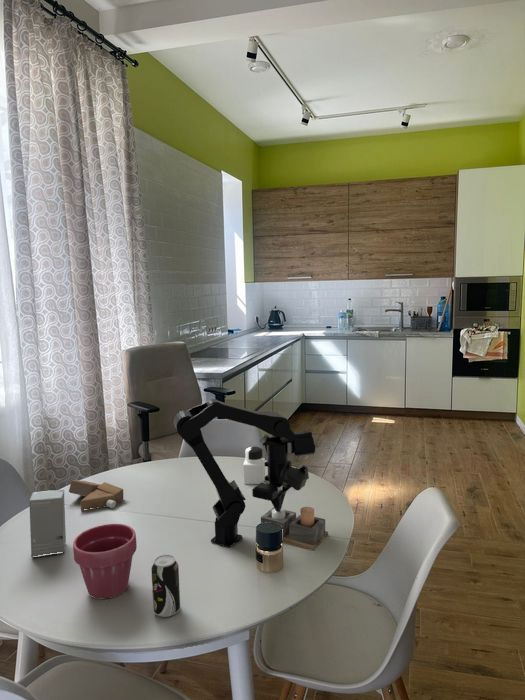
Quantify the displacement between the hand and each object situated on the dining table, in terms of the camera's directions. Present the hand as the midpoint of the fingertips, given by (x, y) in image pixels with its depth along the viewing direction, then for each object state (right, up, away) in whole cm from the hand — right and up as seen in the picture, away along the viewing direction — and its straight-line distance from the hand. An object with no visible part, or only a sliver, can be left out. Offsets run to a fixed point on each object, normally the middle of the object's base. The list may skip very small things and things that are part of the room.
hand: (278, 511), depth 147 cm
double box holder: (+4, -6, -1) cm, 8 cm away
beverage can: (-25, -12, -34) cm, 44 cm away
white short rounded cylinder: (0, -5, +1) cm, 5 cm away
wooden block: (-60, -5, +22) cm, 64 cm away
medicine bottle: (-7, -1, +38) cm, 39 cm away
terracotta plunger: (+8, -3, -4) cm, 9 cm away
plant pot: (-41, -11, -25) cm, 49 cm away
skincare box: (-62, -9, -7) cm, 63 cm away
